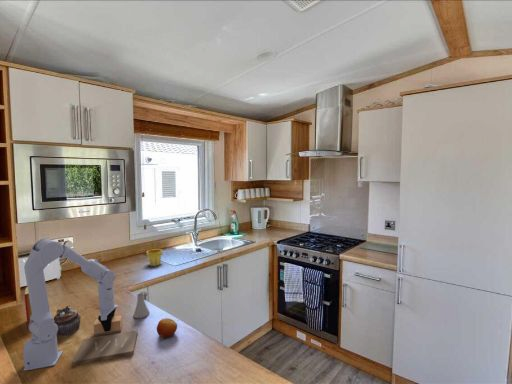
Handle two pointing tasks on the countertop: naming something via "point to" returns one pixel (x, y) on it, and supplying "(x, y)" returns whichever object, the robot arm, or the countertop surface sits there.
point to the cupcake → (67, 321)
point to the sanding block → (115, 326)
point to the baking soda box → (27, 306)
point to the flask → (141, 307)
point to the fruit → (166, 328)
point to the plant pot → (154, 256)
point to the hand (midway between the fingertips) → (108, 327)
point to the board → (105, 347)
